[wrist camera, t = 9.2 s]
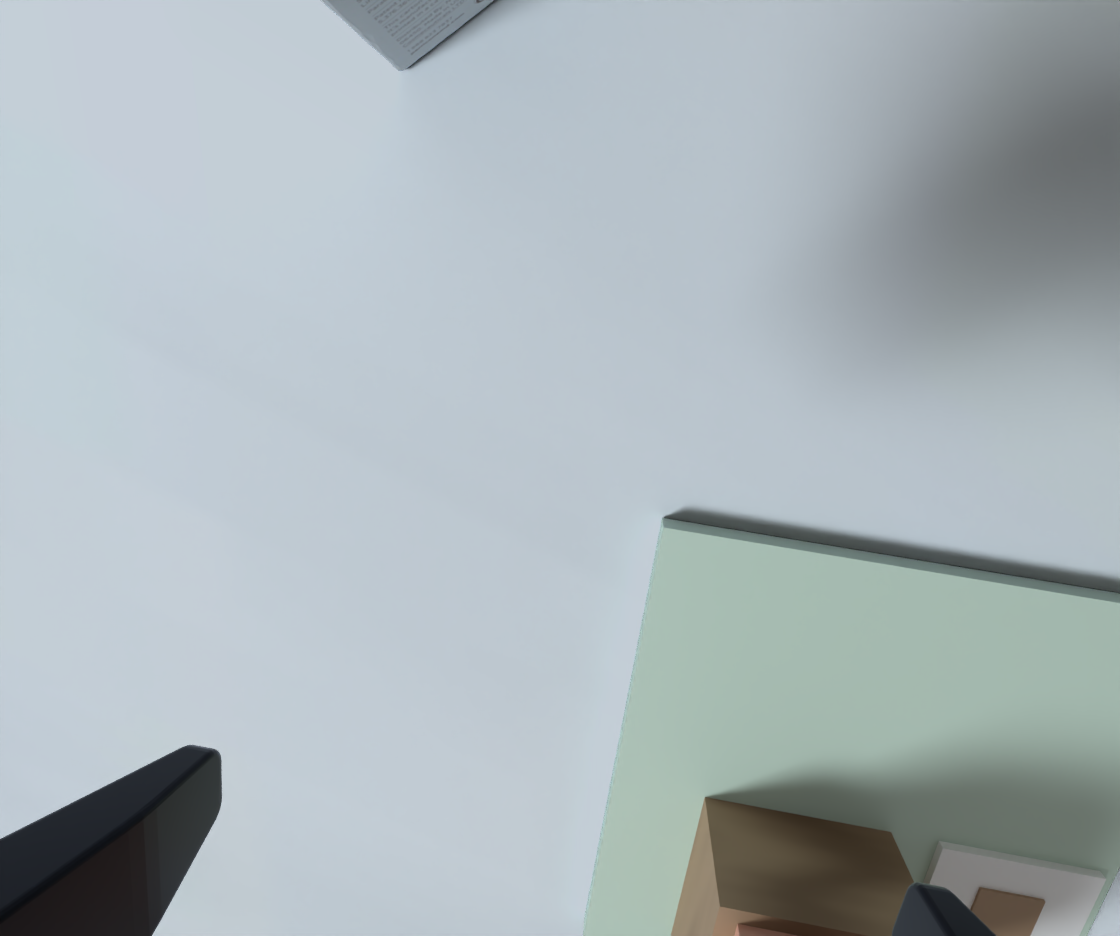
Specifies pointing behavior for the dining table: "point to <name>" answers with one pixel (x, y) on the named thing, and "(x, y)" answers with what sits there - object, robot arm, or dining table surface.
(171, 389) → the dining table surface
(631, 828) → the board
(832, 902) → the walnut brick
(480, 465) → the dining table surface
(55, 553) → the dining table surface
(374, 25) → the small box
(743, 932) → the pink knobbed block
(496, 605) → the dining table surface
